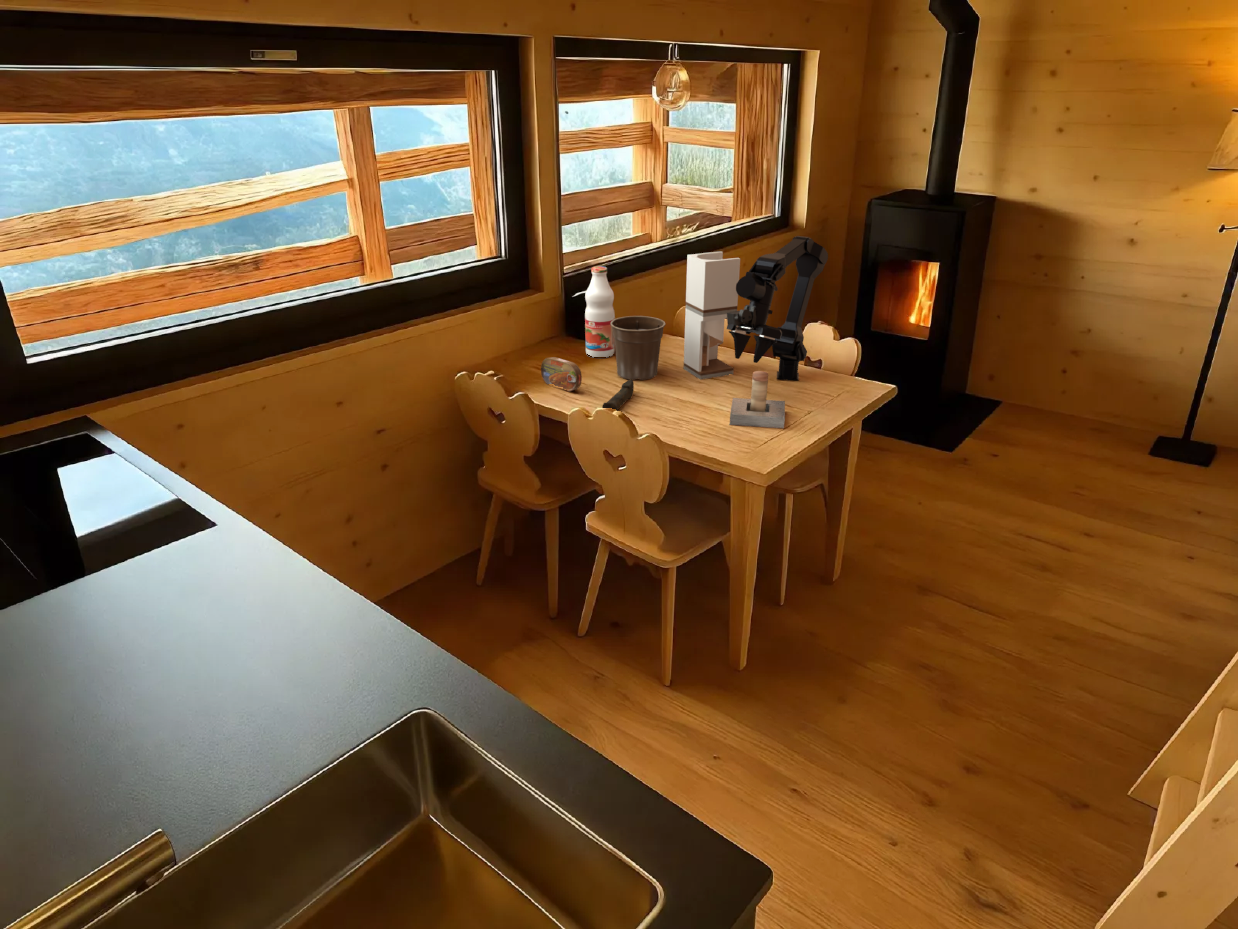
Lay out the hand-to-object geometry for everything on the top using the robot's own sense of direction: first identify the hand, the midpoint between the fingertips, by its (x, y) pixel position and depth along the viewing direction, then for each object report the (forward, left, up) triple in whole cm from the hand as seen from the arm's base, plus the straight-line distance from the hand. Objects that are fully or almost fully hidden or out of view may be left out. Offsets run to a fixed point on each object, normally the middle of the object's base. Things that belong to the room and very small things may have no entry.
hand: (745, 360), depth 231 cm
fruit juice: (-35, -48, -12) cm, 60 cm away
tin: (-3, -53, -12) cm, 54 cm away
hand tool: (+7, -34, -13) cm, 37 cm away
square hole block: (+11, +4, -12) cm, 17 cm away
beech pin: (+11, +4, -12) cm, 17 cm away
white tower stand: (-24, -12, -12) cm, 29 cm away
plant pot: (-18, -33, -12) cm, 39 cm away
